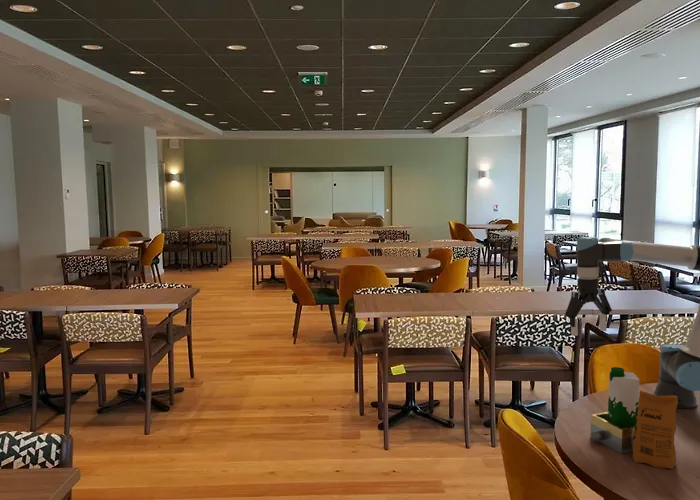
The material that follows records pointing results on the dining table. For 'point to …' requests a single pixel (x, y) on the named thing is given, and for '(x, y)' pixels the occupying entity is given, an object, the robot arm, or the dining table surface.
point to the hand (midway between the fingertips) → (588, 332)
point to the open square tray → (611, 433)
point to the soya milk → (623, 398)
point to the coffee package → (655, 430)
